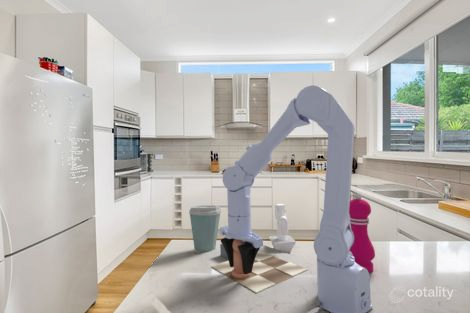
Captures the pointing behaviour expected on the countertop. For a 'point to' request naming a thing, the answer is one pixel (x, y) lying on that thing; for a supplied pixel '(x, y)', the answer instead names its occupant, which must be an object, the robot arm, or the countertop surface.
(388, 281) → the countertop surface
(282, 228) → the figurine
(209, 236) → the disposable coffee cup
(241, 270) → the pawn
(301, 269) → the board
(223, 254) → the die
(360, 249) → the pepper mill
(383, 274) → the countertop surface
